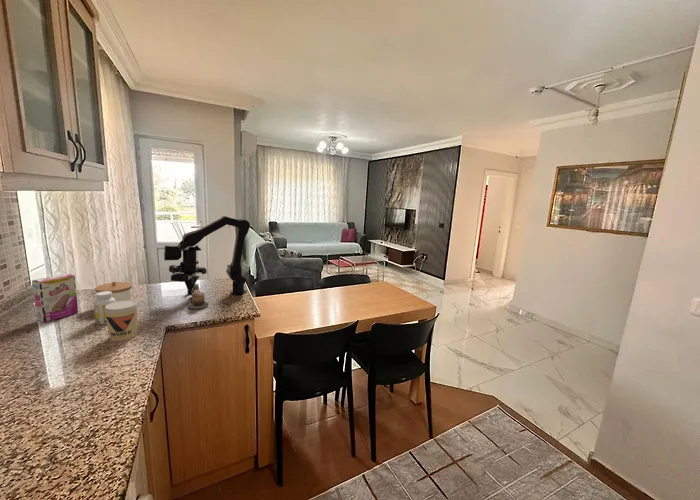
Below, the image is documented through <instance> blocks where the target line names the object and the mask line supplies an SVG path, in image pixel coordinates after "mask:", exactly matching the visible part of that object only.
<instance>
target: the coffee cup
mask: <svg viewBox="0 0 700 500" xmlns="http://www.w3.org/2000/svg"><path fill="white" fill-rule="evenodd" d="M138 305H139V304H138V302H137V301H135V300H131V299H130V300H123V301H117V302H113V303H110V304H108V305H106V306H105V308H104V311H105V316H106V321H107V324H106V325H107V331H108V335H109V340H110V341H112V342H124V340H125V341H127V340H130V339H134V338H135V337H136V336H137V335H138Z"/></svg>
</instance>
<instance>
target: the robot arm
mask: <svg viewBox="0 0 700 500" xmlns="http://www.w3.org/2000/svg"><path fill="white" fill-rule="evenodd" d="M225 226H232V227H234V229H235V231H234V232H235V240H234V242H235V243H234V248H233V251H232V252H233V253H232V259H231V262H230V264H227V266H226V271H225V273H226V275H227V276H228V278H229V279H230V280H231V281H232V291H231V292H229V295H237V296H243V295H244V294H245V293H246V292H247V291H248V290H246V289H245V284H246V282H247V279H246V277H244V275H242V270H243V269H242V265H241V262H242V256H243V251H244V245H245V239H246V236H247V235H248V233H249V230H250V227H251V224H250V221H248V220H246V219H244V218H238V219H236V218H232V217H229V216H226V215H223V216H221V217H220V218H218V219H216V220H214V221H213V222H211V223H208V224H207V225H205V226H203V227H202V228H199V229H196V230H192V231H189V232H187V233H184V234H183V235H182V238H181V239H182V240H181V241H180V242H179V243H178V244H177V245H164V252H163V259H164V262H165V261H179V260H180V259H181V258H182V261H180V262H179V265H176V264H171V265H169V267H168V271H169V272H170V273H172V274H171V276H170V281H172V282H180V283H181V282H182V283H185V286H186V288H187V289H188V290H187V292H188V291H191V290H192V288H193V287H194V285H195V284H197V281H198V279H199V278H200V276H199V275H197V274H199V273H201V275H205V274H206V275H207V272H208V271H207V268H205V267H200V266H197V265H198V264H199V261H198V260H197V255H198V253H197V251H202V248H201V247H199V245H198V243H200V242H202V240H203V239H204V238H205V237H207V236H209V235H210V234H212V233H214V232H216V231H218V230H220V229H221V228H223V227H225Z"/></svg>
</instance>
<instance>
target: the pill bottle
mask: <svg viewBox="0 0 700 500" xmlns="http://www.w3.org/2000/svg"><path fill="white" fill-rule="evenodd" d="M111 296H112V292H111V291H104V292H99V293H97V294H96V293H95V298H96V299H95V300H94V302H93V307H94V308H93V309H94V315H95V317H94V318H95V322H96V323H97V324H99V325H107V321H106V316H105V311H104V308H105V306H106V305H108V304H110V303H113V302H116V300H115V298H113V297H111Z"/></svg>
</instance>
